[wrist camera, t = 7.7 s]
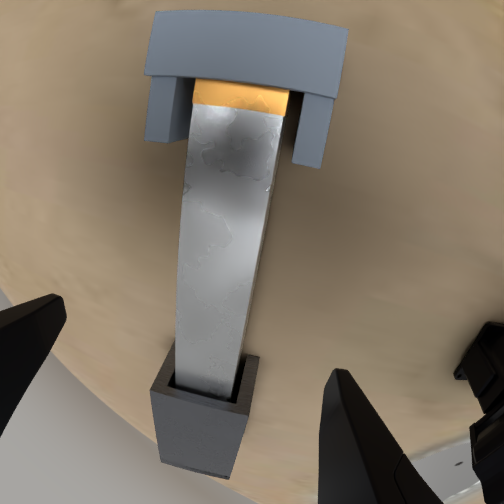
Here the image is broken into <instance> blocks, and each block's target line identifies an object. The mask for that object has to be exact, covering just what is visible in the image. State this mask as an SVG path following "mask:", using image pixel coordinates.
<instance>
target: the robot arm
mask: <svg viewBox="0 0 504 504" xmlns="http://www.w3.org/2000/svg"><path fill="white" fill-rule="evenodd" d="M66 318H67V315H66V310H65V305H64V300H63V298H62V297H61V296H59V295H56V294H53V293H52V294H49V295H46V296H43V297H40V298H37V299H34V300H31V301H28V302H25V303H22V304H19V305H16V306H14V307H11V308H8V309H5V310H2V311H0V437H1V435H2V433H3V431H4V429H5V427H6V425H7V423H8V422H9V420H10V418H11V416H12V414H13V412H14V411H15V409H16V407H17V405H18V404H19V402H20V400H21V398H22V397H23V395H24V393H25V392H26V390H27V388H28V386H29V385H30V383H31V381H32V380H33V378H34V377H35V375H36V373H37V372H38V370H39V368H40V367H41V365H42V364H43V362H44V360H45V359H46V357H47V356H48V354H49V352H50V350H51V348H52V347H53V345H54V343H55V341H56V339H57V337H58V335H59V333H60V331H61V329H62V328H63V326H64V324H65V322H66ZM454 378H455V379H456V380H468V382H469V384H470V387H471V389H472V391H473V393H474V396H475V397H476V398H477V399H478V401H479V404H480V406H481V408H482V411H483V413H484V414H485V415H484V416H483V417H482V418H481V419H480V420H478V421H477V422H476V423H473V424H472V425H471V426H470V427H469V429H470V440H471V452H472V468H473V470H474V471H475V473H476V475H477V477H478V478H479V480H480V482H481V485H482V489H483V496H484V501H485V503H486V504H504V324H499V323H492V322H489V323H487V324H486V325H485V326H484V327H483V329H482V331H481V332H480V334H479V336H478V337H477V339H476V341H475V342H474V344H473V346H472V347H471V349H470V350H469V352H468V353H467V355H466V357H465V358H464V360H463V361H462V363H461V364H460V365H459V367H458V368H457V370H456V371H455V373H454ZM318 504H444V503H443V502H442V501H441V500H440V499H439V498H438V496H437V495H436V494H435V493H434V492H433V491H432V489H431V488H430V487H429V486H428V485H427V483H426V482H425V481H424V480H423V478H422V477H421V476H420V475H419V474H418V472H417V471H416V469H415V468H414V467H413V465H412V464H411V462H410V461H409V459H408V458H407V456H406V455H405V454H403V450H402V449H401V447H400V446H399V444H398V443H397V441H396V440H395V438H394V437H393V436H392V434H391V433H390V431H389V430H388V428H387V427H386V425H385V424H384V422H383V421H382V419H381V418H380V416H379V415H378V413H377V412H376V410H375V409H374V407H373V406H372V405H371V403H370V402H369V400H368V399H367V397H366V396H365V394H364V393H363V391H362V390H361V388H360V387H359V386H358V384H357V383H356V381H355V380H354V378H353V377H352V375H351V374H350V372H349V371H348V370H346V369H339V368H335V369H334V370H333V371H332V373H331V375H330V377H329V379H328V381H327V383H326V385H325V388H324V394H323V404H322V413H321V422H320V430H319V480H318Z"/></svg>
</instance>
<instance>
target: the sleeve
mask: <svg viewBox="0 0 504 504" xmlns="http://www.w3.org/2000/svg"><path fill="white" fill-rule="evenodd" d="M259 358H260V357H256V356H251V355H247V359H246V364H245V368H244V372H243V377H242V381H241V385H240V390H239V394H238V399H237V403H236V404H233V403H229V402H224V401H220V400H216V399H212V398H208V397H204V396H200V395H196V394H192V393H189V392H185V391H181V390H178V389H176V378H175V341H174V343H173V345H172V347H171V349H170V351H169V353H168V355H167V357H166V359H165V361H164V363H163V365H162V367H161V369H160V371H159V373H158V375H157V377H156V379H155V381H154V383H153V385H152V387H151V389H150V396H151V404H152V411H153V418H154V425H155V431H156V437H157V443H158V449H159V454H160V459H161V462H162V463H166V464H169V465H172V466H175V467H179V468H183V469H186V470H190V471H194V472H197V473H201V474H205V475H209V476H214V477H218V478H223V479H227V480H229V478H230V475H231V472H232V469H233V466H234V462H235V459H236V456H237V453H238V450H239V447H240V443H241V440H242V437H243V434H244V430H245V427H246V424H247V420H248V417H249V412H250V407H251V402H252V396H253V391H254V386H255V380H256V375H257V369H258V364H259Z"/></svg>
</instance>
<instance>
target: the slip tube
mask: <svg viewBox="0 0 504 504" xmlns="http://www.w3.org/2000/svg"><path fill="white" fill-rule="evenodd" d="M290 101H291V94H290V90H287V89H282V88H276V87H270V86H263V85H256V84H249V83H241V82H233V81H224V80H213V79H201V78H196V81H195V87H194V94H193V100H192V103H193V110H192V117H191V125H190V133H189V141H188V149H187V158H186V167H185V176H184V186H183V197H182V209H181V221H180V235H179V251H178V269H177V292H176V333H175V378H176V389H178V390H181V391H185V392H189V393H192V394H196V395H200V396H204V397H208V398H212V399H216V400H220V401H224V402H229V403H230V402H231V398H232V394H233V390H234V386H235V382H236V377H237V372H238V367H239V362H240V357H241V352H242V347H243V342H244V337H245V332H246V327H247V322H248V317H249V312H250V307H251V302H252V297H253V292H254V287H255V282H256V277H257V271H258V266H259V261H260V256H261V251H262V246H263V240H264V235H265V230H266V225H267V220H268V214H269V209H270V204H271V198H272V193H273V188H274V183H275V177H276V172H277V167H278V161H279V156H280V150H281V145H282V140H283V134H284V129H285V123H286V118H287V117H288V112H289V107H290Z"/></svg>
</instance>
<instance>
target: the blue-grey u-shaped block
mask: <svg viewBox="0 0 504 504" xmlns="http://www.w3.org/2000/svg"><path fill="white" fill-rule="evenodd" d="M348 30H349V29H346V28H342V27H338V26H334V25H329V24H325V23H320V22H315V21H310V20H304V19H299V18H292V17H286V16H279V15H271V14H262V13H252V12H240V11H222V10H174V11H156V13H155V17H154V22H153V26H152V31H151V36H150V41H149V47H148V52H147V58H146V64H145V70H144V75H147V76H152V80H151V87H150V94H149V101H148V109H147V118H146V127H145V138H144V141H152V142H161V143H171V142H175V141H179V140H183V139H187V138H189V133H190V125H191V117H192V110H193V103H192V100H193V94H194V87H195V81H196V78H201V79H213V80H224V81H233V82H241V83H249V84H256V85H263V86H270V87H276V88H282V89H287V90H293V91H298V92H303V93H304V95H303V100H302V106H301V111H300V116H299V122H298V127H297V132H296V137H295V143H294V148H293V155H292V163H295V164H300V165H304V166H309V167H313V168H318V169H320V167H321V163H322V158H323V153H324V149H325V144H326V139H327V134H328V129H329V124H330V119H331V114H332V109H333V104H334V99H336V98H337V94H338V89H339V83H340V78H341V72H342V66H343V61H344V55H345V49H346V42H347V36H348Z"/></svg>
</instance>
